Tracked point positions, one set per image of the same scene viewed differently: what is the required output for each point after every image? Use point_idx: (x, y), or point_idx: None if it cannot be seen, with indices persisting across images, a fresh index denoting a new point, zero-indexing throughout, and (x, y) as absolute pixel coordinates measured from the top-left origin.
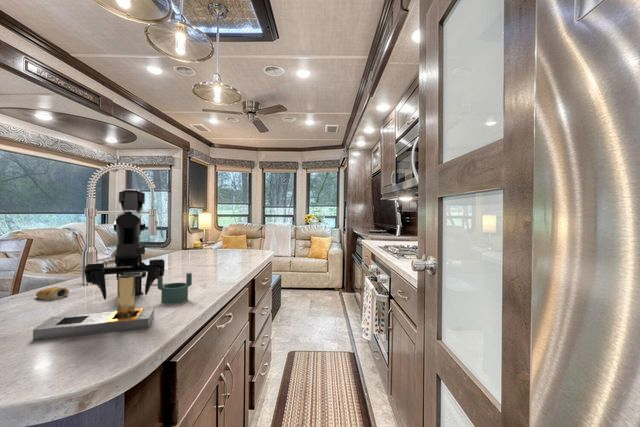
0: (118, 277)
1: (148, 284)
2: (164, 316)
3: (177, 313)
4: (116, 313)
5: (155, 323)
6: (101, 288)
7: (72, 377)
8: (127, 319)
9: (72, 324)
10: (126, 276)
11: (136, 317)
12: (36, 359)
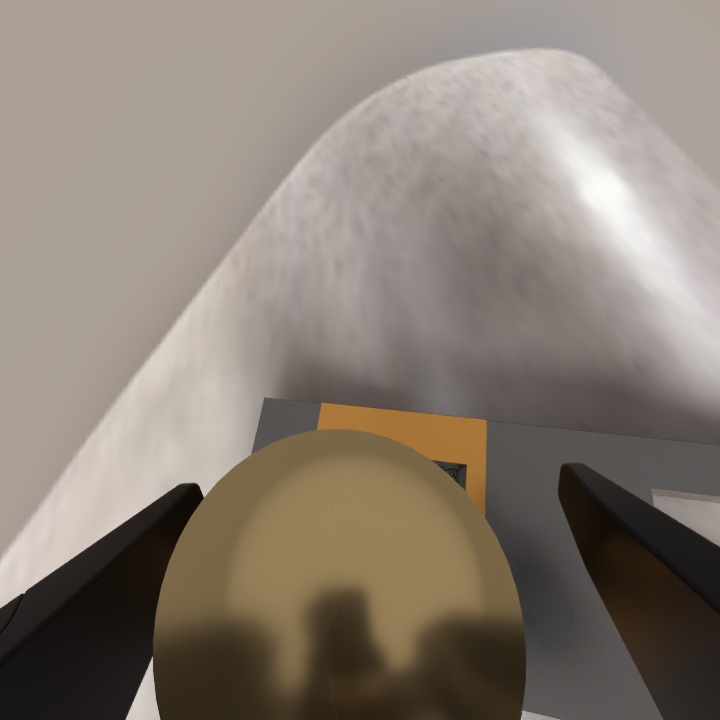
0: (510, 660)
1: (90, 555)
2: None
3: None
4: None
5: None
6: (707, 544)
7: (473, 107)
8: (368, 415)
9: (699, 476)
10: (331, 714)
11: None
12: (658, 237)
